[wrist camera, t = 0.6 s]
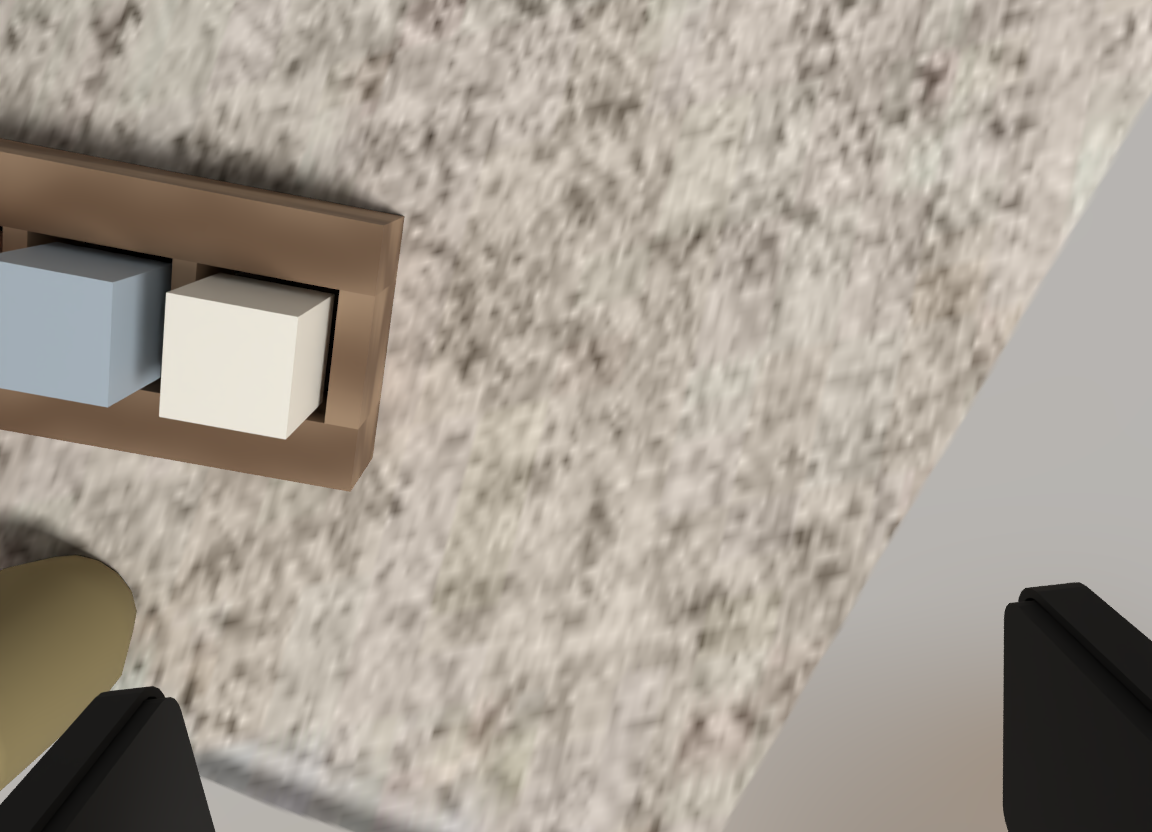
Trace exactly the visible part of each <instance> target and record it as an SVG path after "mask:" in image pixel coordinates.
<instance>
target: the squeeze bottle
mask: <svg viewBox="0 0 1152 832" xmlns="http://www.w3.org/2000/svg"><path fill="white" fill-rule="evenodd" d="M136 612H137V611H136V607H135V603H134V599H133V595H132V592H131V590H130V589H129V588H128V586H127V585H126V584H125V582H124V581H123V580H122V578H121V577H120V576H119V574H118V573H116V572H115V571H113V570H112V569H110V568H109V567H107V566H106V565H104V564H103V563H101V562H100V561H97V560H94V559H90V558H86V557H82V556H79V555H70V556H59V557H52V558H48V559H43V560H39V561H35V562H30V563H26V564H22V565H17V566H13V567H9V568H4V569H3V570H1V571H0V791H1V790H2V789H3V788H4V787H5V786H6V785H7V784H9V783H10V782H11V781H12V780H13V779H14V778H15V777H16V776H17V775H19V774H20V773H21V772H22V771H23V770H24V769H25V768H26V767H27V766H28V765H30V764H31V763H32V762H33V761H34V760H35V759H36V758H37V757H38V756H40V755H41V754H42V753H43V752H44V751H45V750H46V749H47V748H48V747H50V746H51V745H52V744H53V743H54V742H55V741H56V740H57V739H58V738H59V737H61V736H62V734H63V733H64V732H65V731H66V730H67V729H68V728H69V726H70V725H71V724H72V723H73V722H74V721H75V720H76V719H77V717H78V716H79V715H80V714H81V713H82V712H83V711H84V709H85V708H86V707H87V706H88V705H89V704H90V703H91V702H92V700H93V699H94V698H95V697H96V696H98V695H99V694H100V693H102V692H107V691H110V689H111V688H112V687H113V685H114V684H115V683H116V682H117V680H118V679H119V678H120V676H121V675H122V671H123V667H124V663H125V660H126V656H127V652H128V648H129V644H130V640H131V637H132V633H133V628H134V623H135V618H136Z"/></svg>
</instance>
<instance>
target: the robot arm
mask: <svg viewBox="0 0 1152 832" xmlns="http://www.w3.org/2000/svg"><path fill="white" fill-rule="evenodd" d="M1003 713H1004V715H1003V716H1004V717H1003V719H1004V720H1003V721H1004V722H1003V811H1004V817H1005V822H1006V825H1007V829H1008V832H1152V641H1151V640H1150V639H1148V638H1147V637H1146V636H1145V635H1144V634H1143V633H1141V632H1140V631H1139V630H1138V629H1137V628H1135V627H1134V626H1133V625H1132V624H1131V623H1129V622H1128V621H1127V620H1126V619H1125V618H1123V617H1122V616H1121V615H1120V614H1119V613H1118V612H1116V611H1115V610H1114V609H1113V608H1112V607H1110V606H1109V605H1108V604H1107V603H1106V602H1105V601H1103V600H1102V599H1101V598H1100V597H1099V596H1097V595H1096V594H1095V593H1094V592H1093V591H1091V590H1090V589H1089V588H1088V587H1087V586H1085V585H1083V584H1082V583H1079V582H1078V583H1066V584H1057V585H1048V586H1039V587H1030V588H1025V589H1024V590H1023V591H1022V592H1021V594H1020V596H1019V600H1018V602H1015V603H1009V604H1008V605H1007V606H1006V609H1005V615H1004V711H1003ZM0 832H215V829H214V825H213V822H212V818H211V815H210V811H209V808H208V804H207V801H206V797H205V793H204V790H203V787H202V783H201V779H200V776H199V772H198V769H197V765H196V762H195V758H194V754H193V751H192V747H191V744H190V740H189V737H188V733H187V730H186V726H185V722H184V719H183V715H182V712H181V709H180V706H179V704H178V702H177V701H176V700H175V699H174V698H171V697H168V698H165V696H164V694H163V693H162V692H161V691H160V689H159V688H156V687H154V686H151V687H142V688H133V689H124V690H115V691H107V692H102V693H100V694H99V695H98V696H96V697H95V698H94V699H93V700H92V702H91V703H90V704H89V705H88V706H87V707H86V708H85V709H84V711H83V712H82V713H81V714H80V715H79V716H78V717H77V719H76V720H75V721H74V722H73V723H72V724H71V725H70V726H69V728H68V729H67V730H66V731H65V732H64V733H63V734H62V736H61V737H60V738H59V739H58V740H57V741H56V742H55V743H54V745H53V746H52V747H51V748H50V749H49V750H48V752H46V754H45V755H44V756H43V757H42V758H41V759H40V760H39V762H38V763H37V764H36V765H35V766H34V767H33V768H32V769H31V771H30V772H29V773H28V774H27V775H26V776H25V777H24V779H23V780H22V781H21V782H20V783H19V784H18V785H17V786H16V788H15V789H14V790H13V791H12V792H11V793H10V794H9V795H8V797H7V798H6V799H5V800H4V801H3V802H2V803H1V805H0Z"/></svg>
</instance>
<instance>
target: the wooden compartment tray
mask: <svg viewBox="0 0 1152 832" xmlns="http://www.w3.org/2000/svg"><path fill="white" fill-rule="evenodd" d="M403 223H404V216H399V215H394V214H389V213H384V212H379V211H373V210H368V209H363V208H358V207H353V206H348V205H342V204H337V203H332V202H327V201H322V200H317V199H311V198H306V197H301V196H296V195H291V194H286V193H280V192H275V191H270V190H265V189H260V188H255V187H249V186H244V185H239V184H234V183H229V182H224V181H218V180H213V179H208V178H203V177H198V176H193V175H187V174H182V173H177V172H172V171H167V170H162V169H156V168H151V167H146V166H141V165H136V164H131V163H125V162H120V161H115V160H110V159H105V158H100V157H94V156H89V155H84V154H79V153H74V152H69V151H63V150H58V149H53V148H48V147H43V146H38V145H32V144H27V143H22V142H17V141H12V140H7V139H2V138H0V226H3V252H7V251H12V250H17V249H22V248H27V247H32V246H38V245H43V244H48V243H53V242H61V243H66V244H71V245H76V246H82V247H84V242H89V243H94V244H99V245H105V246H110V247H115V248H121V249H126V250H131V251H136V252H142V253H147V254H152V255H158V256H163V257H168V258H173V263H172V280H171V290H174V289H177V288H179V287H182V286H185V285H188V284H190V283H193V282H196V281H198V280H201V279H204V278H206V277H209V276H212V275H214V274H217V273H225V274H230V275H234V270H237V271H242V272H248V273H253V274H258V275H263V276H269V277H274V278H279V279H285V280H290V281H295V282H301V283H306V284H311V285H316V286H322V287H327V288H332V289H338V290H340V291H339V300H338V309H337V318H336V326H335V335H334V344H333V352H332V361H331V370H330V379H329V387H328V392H327V391H324V392H323V401H322V403H321V404H320V405H319V406H318V407H317V408H316V409H315V410H314V411H313V412H312V413H311V414H310V415H309V416H308V417H307V418H306V419H305V420H304V421H303V423H302V424H301V425H300V426H299V427H298V428H297V429H296V430H295V431H294V432H293V433H292V434H291V435H290V436H289V437H288V438H287V439H286V440H285V439H280V438H274V437H269V436H263V435H258V434H252V433H247V432H241V431H235V430H230V429H224V428H219V427H213V426H208V425H202V424H197V423H191V422H186V421H180V420H174V419H169V418H163V417H159V407H160V390H161V377H160V378H159V379H157V380H155V381H153V382H152V383H150V384H148V385H146V386H145V387H143V388H141V389H139V390H138V391H136V392H134V393H132V394H131V395H129V396H127V397H125V398H124V399H122V400H120V401H118V402H116V403H115V404H113V405H111V406H109V407H102V406H97V405H91V404H86V403H80V402H74V401H69V400H63V399H58V398H52V397H47V396H41V395H36V394H30V393H25V392H19V391H13V390H8V389H2V388H0V429H1V430H7V431H12V432H18V433H24V434H29V435H35V436H40V437H46V438H52V439H57V440H63V441H69V442H74V443H80V444H85V445H91V446H97V447H102V448H108V449H114V450H119V451H125V452H130V453H136V454H142V455H147V456H153V457H159V458H164V459H170V460H175V461H181V462H187V463H192V464H198V465H203V466H209V467H215V468H220V469H226V470H232V471H237V472H243V473H248V474H254V475H260V476H265V477H271V478H277V479H282V480H288V481H293V482H299V483H305V484H310V485H316V486H322V487H327V488H333V489H338V490H344V491H351V490H352V488H353V487H354V485H355V484H356V482H357V481H358V479H359V478H360V476H361V475H362V473H363V472H364V470H365V469H366V467H367V465H368V464H369V462H370V461H371V459H372V457H373V450H374V442H375V435H376V427H377V420H378V412H379V404H380V397H381V389H382V382H383V374H384V367H385V359H386V352H387V344H388V337H389V329H390V322H391V314H392V306H393V299H394V291H395V284H396V276H397V269H398V261H399V254H400V246H401V239H402V231H403Z"/></svg>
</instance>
